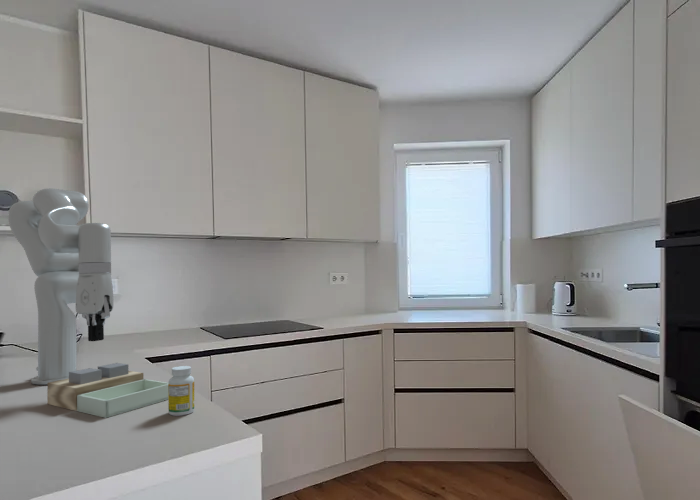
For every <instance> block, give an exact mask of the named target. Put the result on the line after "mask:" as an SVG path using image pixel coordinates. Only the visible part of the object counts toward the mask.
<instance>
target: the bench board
mask: <svg viewBox="0 0 700 500" xmlns="http://www.w3.org/2000/svg"><path fill="white" fill-rule="evenodd" d="M143 379H145V378H144V372H140V371H133V370H132V371H131V370H128V374H126V375H122V376H117V377H113V378H106V377H102V380H99V381H94V382H90V383H85V384H75V383H70V382H69V378H68V379H63V380H58V381H54V382H49V383H48V384H47V390H46V391H47V393H46V394H47V395H46V396H47V401H46V402H47V403H46V404H47V405H49V406H54V407H58V408H62V409H67V410H71V411H75V412H76V411H77V395H80V394H84V393H89V392H93V391H97V390H101V389H105V388H110V387H114V386H118V385H122V384H126V383H131V382H135V381H139V380H143ZM77 412H78V411H77Z"/></svg>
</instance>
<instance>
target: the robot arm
mask: <svg viewBox="0 0 700 500" xmlns="http://www.w3.org/2000/svg"><path fill="white" fill-rule="evenodd" d="M89 206H90V205H89V199H88V197H87V196H86V195H85V194H84V193H82V192H80V191H77V190H69V189H68V190H67V189H59V188H43V189H40V190H38V191H37V192H36V193H35V194H34V196H33V197H32V200H22V201H17V202H14V203H13V204H12V205H11V206H10V208H9V210H8V216H7V217H8V224H9V228H10V231H11V232H12V234H13V236H14V238H15V239H16V240H17V242H19V244H20V246H21V247H22V248H23V250H24V252H25V255H26V257H27V260H28V262H29V264H30V266H31V267H30V268H31V270H32V271H33V273H34V274H35V276H36V277H37V278H36V279H35V281H34V295H35V300H36V305H37V328H38V329H37V366H36V368H35V370H36V371H37V376H34V377H32V378H31V381H30V382H31V384H32V385H38V386H39V385H48V383H49V382H54V381H58V380H63V379H68V378H69V372H72V371H77V318H76V314H75V313H74V312H73V310H72V309H71V308H70V307H69V306H68V304H69V305H70V304H75V312H76V313H77V314H79V315H81V317H82V318H83V319H85V321H86V326H87V332H88V333H87V339H88V342H97V341H103V340H104V338H105V337H104V336H105V335H104V333H105V332H104V326H105V324H106V323H105V322H106V319H108V318H110V316H111V312H112V311H113V310H114V290H113V287H114V286H113V280H112V237H111V236H112V235H111V234H112V232H111V231H112V230H111V227H110V226H109V224H107V223H103V222H102V223H100V222H86V223H82V224H80V225H79V224H78V223H79V222H80V221H81V220H83V219H84V218H85V217H86V216H87V214H88V212H89Z"/></svg>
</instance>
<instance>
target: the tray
mask: <svg viewBox="0 0 700 500" xmlns="http://www.w3.org/2000/svg"><path fill="white" fill-rule="evenodd" d="M164 400H165V401H168V382H166V381H158V380H155V379H154V380H153V379H146V378H144V379H143V380H139V381H135V382H131V383H126V384H122V385H118V386H114V387H110V388H105V389H101V390H97V391H93V392H89V393H84V394H80V395H77V412H79V413H84V414H89V415H92V416H95V417H100V418H104V419H106V418H110V417H114V416H118V415H121V414H124V413H127V412H131V411H134V410H138V409H141V408H144V407H148V406H150V405H154V404H157V403H160V402H164Z"/></svg>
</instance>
